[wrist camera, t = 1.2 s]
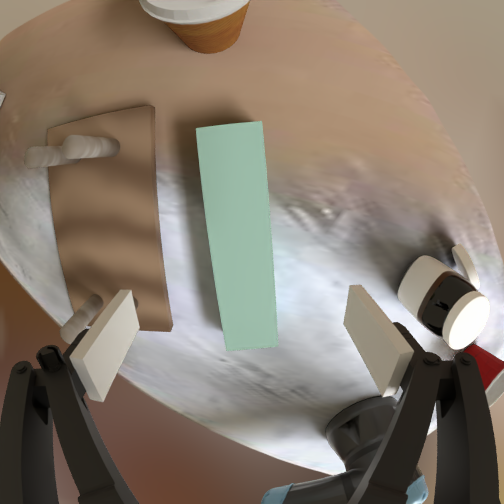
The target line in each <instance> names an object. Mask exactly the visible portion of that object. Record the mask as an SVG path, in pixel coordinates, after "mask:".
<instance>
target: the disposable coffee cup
mask: <svg viewBox="0 0 504 504" xmlns="http://www.w3.org/2000/svg"><path fill="white" fill-rule="evenodd" d="M139 2H140V4H141V6H142V8H143V9H144V10H145V11H146V12H147V13H148V14H150V15H151V16H152V17H154V18H157V19H159V20H162V21H163V22H164V23H165V24H166V25H167V26H168V27H169V28H170V29H171V30H172V31H173V32H174V33H175V34H177V35H178V37H180V39H182V41H183V42H184V43H185V44H186V45H187V46H188V47H189V48H191V49H192V50H194V51H196V52H200V53H207V54H210V53H217V52H221V51H223V50H225V49H227V48H229V47H230V46H232V45H233V44H234V43H235V42H236V40H237V39H238V37H239V35H240V31H241V28H242V25H243V21H244V18H245V15H246V12H247V9H248V6H249V3H250V0H139Z"/></svg>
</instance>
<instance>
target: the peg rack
mask: <svg viewBox="0 0 504 504" xmlns="http://www.w3.org/2000/svg"><path fill="white" fill-rule="evenodd" d="M47 144H48V146H39V147H30V148H28V149H27V151H26V153H25V156H24V162H25V165H26V167H27V168H29V169H33V168H40V167H48V173H49V187H50V197H51V206H52V214H53V221H54V228H55V234H56V240H57V245H58V250H59V255H60V260H61V265H62V269H63V273H64V277H65V281H66V285H67V289H68V293H69V296H70V300H71V303H72V306H73V310H74V313H75V314H74V315H73V316H72V317H71V318H70V319H69V320H68V321H67V323H66V324H65V325H64V326H63V327H62V328H61V330H60V336H61V338H62V339H63V340H64V341H65V342H66V343H69V344H71V343H72V342H73V341H74V340H75V338H76V337H77V335H78V334H79V333H80V332H82V331H83V330H84V329H85V328H86V326H92V325H93V324H94V322H95V321H96V320H97V319H98V317H99V316H100V315H101V313H102V312H103V311H104V309H105V308H106V307H107V306H108V304H109V303H110V302H111V301H112V299H113V298H114V297H115V296H116V294H117V293H118V292H119V291H120V290H131V291H132V296H133V300H134V305H135V310H136V314H137V318H138V322H139V326H140V328H139V330H141V331H161V332H171V330H172V327H173V322H172V316H171V310H170V304H169V298H168V291H167V284H166V277H165V269H164V261H163V253H162V244H161V235H160V224H159V212H158V199H157V183H156V161H155V107H153V106H151V105H148V106H142V107H136V108H130V109H125V110H120V111H115V112H110V113H105V114H101V115H97V116H92V117H88V118H84V119H81V120H77V121H73V122H70V123H66V124H63V125H60V126H56V127H53V128H50V129H48V136H47Z"/></svg>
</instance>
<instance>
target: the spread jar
mask: <svg viewBox="0 0 504 504" xmlns="http://www.w3.org/2000/svg"><path fill="white" fill-rule="evenodd" d="M452 254H453V257H454V260H455V263H456V265H457V268H458V270H459V272H460V274H461V275H460V274H459V273H457V272H456V271H454V270H453V269H451V268H450V267H448V266H446V265H445V264H443V263H442V262H440V261H439V260H437V259H435V258H433V257H430V256H426V255H422V256H420V257H418V258H417V259H415V260H414V261H413V262H412V263H411V265H410V266H409V267H408V269H407V270H406V272H405V273H404V275H403V277H402V279H401V282H400V285H399V288H398V299H399V301H400V302H401V303H402V305H403V306H404V307H405V308H406V309H407V310H408V311H409V312H410V313H411V314H412V315H413V316H414V317H415V318H416V319H417V320H418V321H419V322H420V323H421V324H422V325H423V326H424V327H425V328H426V329H427V330H429V331H430V332H431V333H432V334H434V335H436V336H437V337H439V338H441V339H444V340H445V342H446V343H447V344H448V345H449V346H450V347H451V348H452V349H455V350H457V349H462V348H464V347H466V346H467V345H469V344H470V343H471V342H472V341H473V340H475V338H476V337H477V336H478V335H479V334H480V332H481V331H482V329H483V327H484V326H485V324H486V321H487V319H488V316H489V311H490V304H489V300H488V299H487V298H486V297H485V296H484V295H482V294H481V293H480V292H478V290H477V289H478V288H479V286H480V284H479V279H478V275H477V272H476V269H475V267H474V264H473V262H472V260H471V258H470V256H469V254H468V253H467V251H466V250H465V248H464V247H463V246H462V245H461V244H458V245H456V246H454V247H453V248H452Z"/></svg>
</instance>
